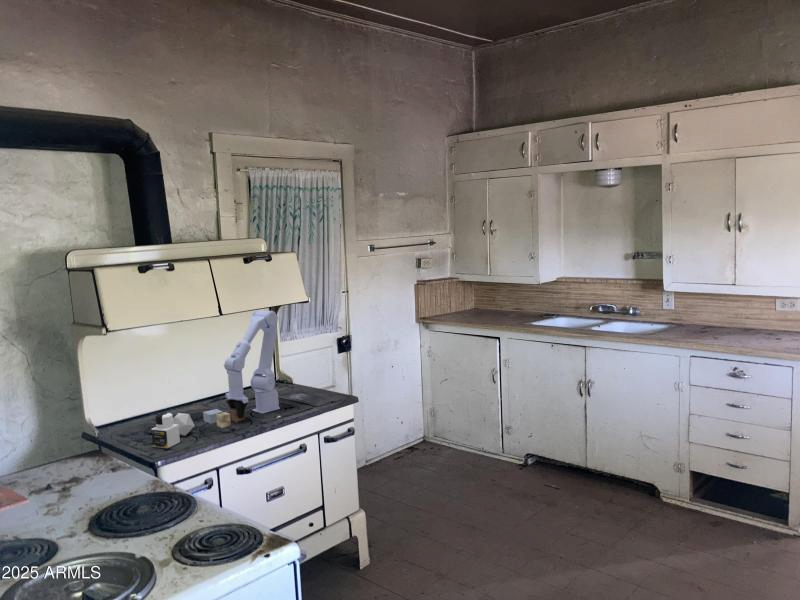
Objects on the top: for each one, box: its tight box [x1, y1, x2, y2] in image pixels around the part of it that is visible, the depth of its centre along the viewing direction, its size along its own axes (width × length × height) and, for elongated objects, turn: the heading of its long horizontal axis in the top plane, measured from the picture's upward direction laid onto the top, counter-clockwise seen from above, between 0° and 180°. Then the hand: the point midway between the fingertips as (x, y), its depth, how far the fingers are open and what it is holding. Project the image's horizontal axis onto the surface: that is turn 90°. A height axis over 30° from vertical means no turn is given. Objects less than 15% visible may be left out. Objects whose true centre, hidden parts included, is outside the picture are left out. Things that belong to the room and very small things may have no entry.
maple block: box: [216, 411, 232, 429], centre depth 267 cm, size 4×4×5 cm
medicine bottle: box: [151, 412, 181, 449], centre depth 246 cm, size 7×7×12 cm
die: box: [173, 412, 195, 437], centre depth 258 cm, size 8×9×10 cm
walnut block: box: [230, 408, 246, 423], centre depth 274 cm, size 4×4×5 cm
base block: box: [202, 408, 224, 425], centre depth 275 cm, size 6×6×4 cm
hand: (238, 416), depth 274 cm, fingers closed on walnut block, 4 cm apart
